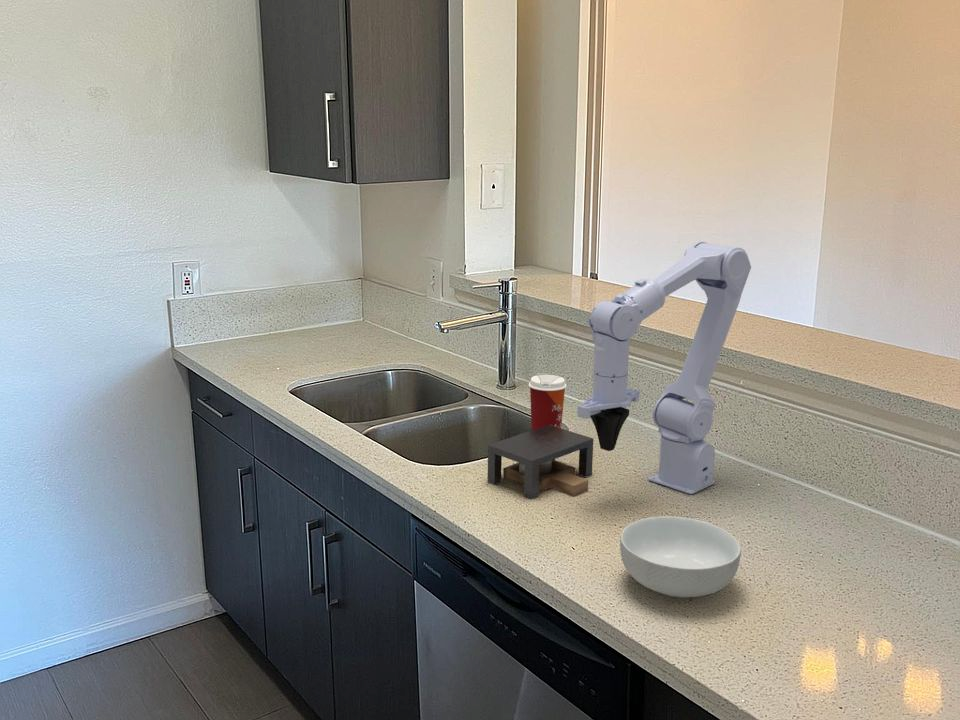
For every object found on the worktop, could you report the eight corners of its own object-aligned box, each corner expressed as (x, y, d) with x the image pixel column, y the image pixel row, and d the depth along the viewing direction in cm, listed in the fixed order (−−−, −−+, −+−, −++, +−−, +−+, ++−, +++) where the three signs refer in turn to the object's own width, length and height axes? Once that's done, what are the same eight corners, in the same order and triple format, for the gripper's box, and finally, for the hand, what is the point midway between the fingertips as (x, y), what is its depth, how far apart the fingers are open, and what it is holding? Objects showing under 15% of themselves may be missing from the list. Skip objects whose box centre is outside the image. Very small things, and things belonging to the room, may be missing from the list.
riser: (591, 474, 173) (593, 438, 171) (531, 499, 161) (532, 461, 160) (548, 459, 180) (549, 424, 179) (487, 481, 169) (487, 445, 167)
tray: (598, 485, 168) (599, 462, 166) (562, 501, 161) (563, 477, 160) (539, 464, 178) (539, 442, 176) (503, 478, 171) (503, 455, 170)
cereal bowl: (666, 626, 122) (670, 578, 120) (595, 572, 136) (597, 528, 134) (763, 597, 129) (767, 551, 127) (685, 549, 143) (688, 507, 142)
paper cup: (562, 452, 184) (564, 385, 181) (524, 449, 186) (525, 382, 182) (566, 439, 192) (568, 374, 188) (530, 436, 193) (531, 372, 189)
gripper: (602, 386, 147) (599, 465, 150) (655, 369, 157) (651, 444, 160) (568, 377, 152) (566, 454, 155) (622, 361, 161) (618, 434, 165)
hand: (607, 448), depth 158 cm, fingers closed
